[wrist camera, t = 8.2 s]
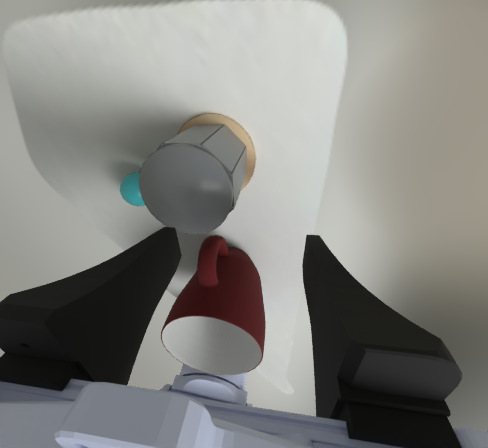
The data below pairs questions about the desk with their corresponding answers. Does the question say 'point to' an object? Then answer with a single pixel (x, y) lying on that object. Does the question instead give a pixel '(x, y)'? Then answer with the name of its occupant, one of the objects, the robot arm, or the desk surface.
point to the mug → (218, 313)
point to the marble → (131, 190)
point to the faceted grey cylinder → (195, 178)
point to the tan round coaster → (236, 129)
